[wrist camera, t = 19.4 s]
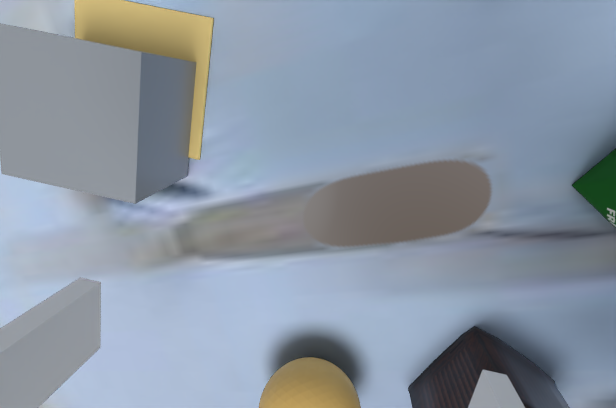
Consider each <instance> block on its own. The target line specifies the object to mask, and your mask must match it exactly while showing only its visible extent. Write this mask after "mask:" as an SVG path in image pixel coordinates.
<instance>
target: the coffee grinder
mask: <svg viewBox="0 0 616 408" xmlns="http://www.w3.org/2000/svg"><path fill="white" fill-rule="evenodd" d="M482 370H487V371H492V372H496V373H501V374H505V375H507V376H508V378H509V380H510V382H511V383H512V385H513V387H514V389H515V390H516V392H517V394H518V396H519V398H520V399H521V401H522V403H523V405H524V407H525V408H570V407H569V406H568V404H567V403H566V401H565V400H564V398H563V396H562V395H561V393H560V392H559V390H558V389H557V387H556V385H555V381H554V380H552V379H551V378H550V377H549V376H548V375H547V374H545V373H544V372H543V371H542V370H541V369H540V368H539V367H538V366H536V365H535V364H534V363H533V362H531V361H530V360H528V359H527V358H526V357H524V356H523V355H521V354H520V353H518V352H517V351H516V350H514V349H513V348H511V347H510V346H508V345H507V344H506V343H504V342H503V341H501V340H500V339H498V338H496V337H494V336H492V335H490V334H488V333H486V332H484V331H482V330H481V329H479V328H477V327H475V326H474V327H473V328H471V329H470V330H468V331H467V332H465V333H464V334H462V335H461V336H460V337H459V338H458V339H457V340H456V341H455V342H453V343H452V344H451V345H450V346H449V347H448V348H447V349H446V350H445V351H444V352H443V353H442V354H441V355H440V356H439V357H438V358H436V359H435V360H434V361H433V362H432V363H431V364H430V365H429V366H428V368H427V369H426V370H425V371H424V372H423V373H422V374H421V375H420V376H419V377H418V378H417V379H416V380H415V381H414V382H413V383H412V384H411V385H410V386H409V389H408V391H409V393H410V398H411V403H412V407H413V408H468V406H469V404H470V401H471V398H472V396H473V393H474V391H475V388H476V385H477V383H478V380H479V378H480V375H481V372H482Z"/></svg>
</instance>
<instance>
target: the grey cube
mask: <svg viewBox="0 0 616 408" xmlns="http://www.w3.org/2000/svg"><path fill="white" fill-rule="evenodd" d="M196 63H197V62H192V61H187V60H182V59H177V58H172V57H167V56H162V55H157V54H152V53H147V52H143V51H138V50H133V49H128V48H123V47H118V46H113V45H108V44H103V43H98V42H93V41H88V40H83V39H78V38H73V37H68V36H63V35H58V34H52V33H47V32H42V31H37V30H32V29H27V28H21V27H16V26H11V25H6V24H1V23H0V160H1V172H2V174H5V175H9V176H14V177H18V178H23V179H27V180H32V181H36V182H41V183H45V184H50V185H54V186H58V187H63V188H67V189H72V190H76V191H81V192H85V193H90V194H94V195H99V196H103V197H108V198H112V199H117V200H121V201H126V202H130V203H137V202H139V201H141V200H143V199H145V198H147V197H149V196H151V195H153V194H154V193H156V192H158V191H160V190H162V189H164V188H166V187H168V186H170V185H172V184H173V183H175V182H177V181H179V180H181V179H183V178H185V177H187V176H188V166H189V158H188V156H189V144H190V132H191V121H192V109H193V98H194V86H195V75H196Z"/></svg>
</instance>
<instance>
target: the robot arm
mask: <svg viewBox="0 0 616 408" xmlns="http://www.w3.org/2000/svg"><path fill="white" fill-rule="evenodd" d="M100 325H101V282H98V281H94V280H89V279H85V278H79V279H77V280H75V281H74V282H72V283H71V284H69V285H68V286H66V287H64V288H63V289H61V290H60V291H58V292H57V293H55V294H53V295H52V296H50V297H49V298H47V299H46V300H44V301H42V302H41V303H39V304H38V305H36V306H35V307H33V308H31V309H30V310H28V311H27V312H25V313H24V314H22V315H21V316H19V317H17V318H16V319H14V320H13V321H11V322H10V323H8V324H6V325H5V326H3V327H2V328H0V408H38V407H39V406H40V405H42V404H43V403H44V402H45V401H46V400H47V399H48V398H49V397H50V396H51V395H52V394H53V393H54V392H55V391H56V390H57V389H58V388H59V387H60V386H61V385H62V384H63V383H64V382H65V381H66V380H67V379H68V378H70V377H71V376H72V375H73V374H74V373H75V372H76V371H77V370H78V369H79V368H80V367H81V366H82V365H83V364H84V363H85V362H86V361H87V360H88V359H89V358H90V357H91V356H92V355H93V354H94V353H95V352H96V351H98V350H99V349H100ZM468 408H525V407H524V405H523V403H522V401H521V399H520V398H519V396H518V394H517V392H516V390H515V389H514V387H513V385H512V383H511V382H510V380H509V378H508V376H507V375H505V374H501V373H496V372H492V371H487V370H482V372H481V375H480V378H479V380H478V383H477V385H476V388H475V391H474V393H473V396H472V398H471V401H470V404H469V406H468Z"/></svg>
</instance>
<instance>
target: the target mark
mask: <svg viewBox="0 0 616 408" xmlns="http://www.w3.org/2000/svg"><path fill="white" fill-rule="evenodd" d="M213 22H214V18H210V17H205V16H200V15H195V14H190V13H185V12H180V11H175V10H169V9H164V8H159V7H154V6H149V5H144V4H139V3H134V2H129V1H124V0H75V38H78V39H83V40H88V41H93V42H98V43H103V44H108V45H113V46H118V47H123V48H128V49H133V50H138V51H143V52H147V53H152V54H157V55H162V56H167V57H172V58H177V59H182V60H187V61H192V62H197V63H196V75H195V86H194V98H193V109H192V121H191V132H190V144H189V156H188V158H193V159H198V160H200V155H201V144H202V134H203V124H204V114H205V104H206V93H207V83H208V73H209V63H210V53H211V42H212V32H213Z"/></svg>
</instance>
